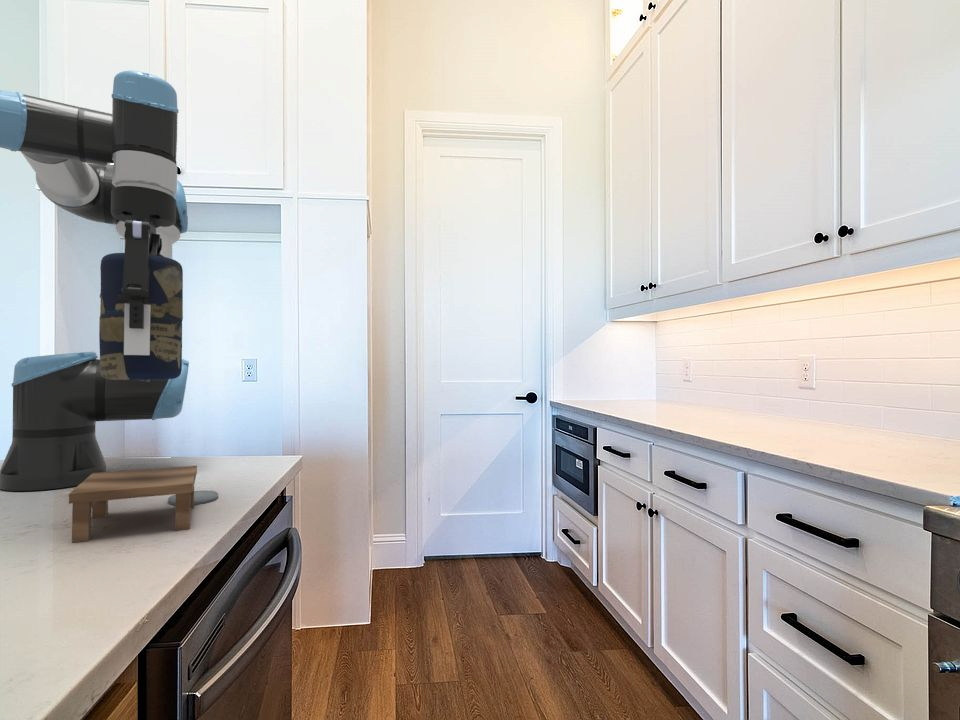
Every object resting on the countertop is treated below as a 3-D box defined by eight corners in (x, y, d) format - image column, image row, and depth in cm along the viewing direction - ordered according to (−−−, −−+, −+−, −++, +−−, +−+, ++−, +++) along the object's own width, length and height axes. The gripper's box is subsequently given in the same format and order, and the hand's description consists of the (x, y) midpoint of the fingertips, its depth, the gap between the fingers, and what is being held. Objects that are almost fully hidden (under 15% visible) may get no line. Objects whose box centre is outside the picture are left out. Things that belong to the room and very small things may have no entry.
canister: (141, 383, 65) (143, 240, 65) (79, 382, 67) (81, 243, 67) (197, 381, 75) (199, 256, 75) (141, 380, 77) (143, 258, 77)
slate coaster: (170, 496, 84) (170, 493, 84) (218, 492, 87) (218, 488, 87) (165, 507, 78) (165, 503, 78) (218, 502, 81) (218, 498, 81)
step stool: (92, 515, 74) (92, 472, 74) (196, 504, 80) (196, 465, 80) (68, 543, 62) (68, 493, 62) (191, 529, 68) (192, 483, 68)
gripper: (125, 209, 79) (123, 355, 79) (93, 159, 60) (90, 354, 59) (181, 216, 83) (179, 356, 83) (169, 170, 63) (166, 355, 63)
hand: (142, 355), depth 71 cm, fingers closed on canister, 9 cm apart
